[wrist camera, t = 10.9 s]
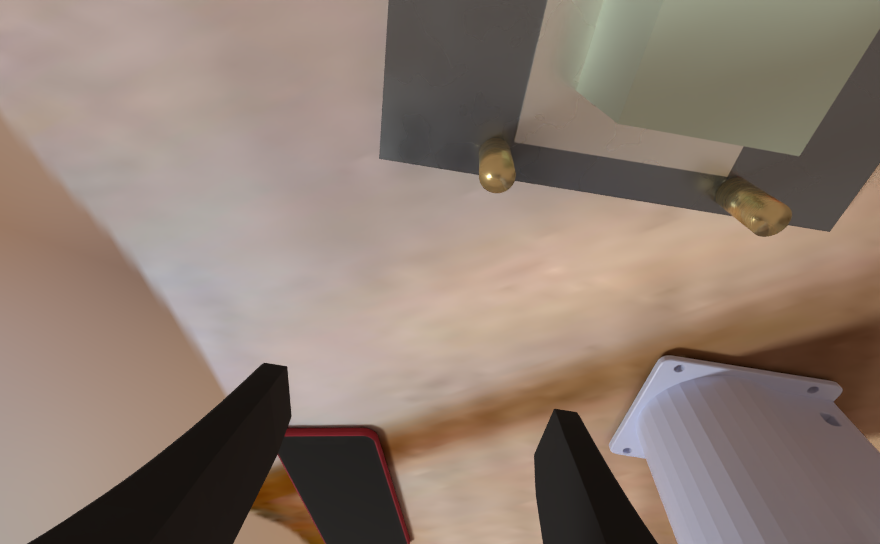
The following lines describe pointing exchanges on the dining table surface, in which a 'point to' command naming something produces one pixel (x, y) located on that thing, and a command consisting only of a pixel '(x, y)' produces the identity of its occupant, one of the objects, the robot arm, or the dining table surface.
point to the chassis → (596, 120)
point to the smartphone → (344, 484)
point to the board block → (726, 66)
